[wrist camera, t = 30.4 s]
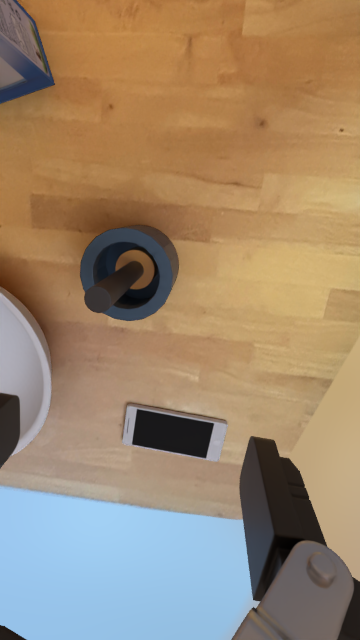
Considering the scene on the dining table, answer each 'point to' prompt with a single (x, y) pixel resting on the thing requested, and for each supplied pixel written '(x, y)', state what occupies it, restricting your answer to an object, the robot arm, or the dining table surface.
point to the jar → (103, 263)
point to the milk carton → (20, 54)
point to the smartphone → (174, 432)
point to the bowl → (24, 365)
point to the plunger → (122, 279)
